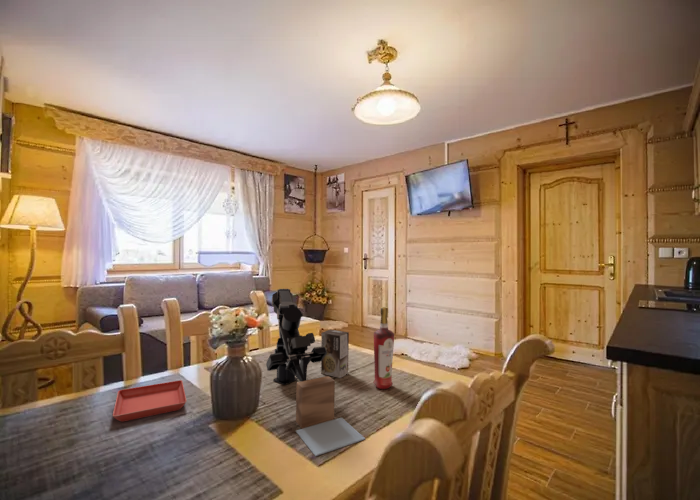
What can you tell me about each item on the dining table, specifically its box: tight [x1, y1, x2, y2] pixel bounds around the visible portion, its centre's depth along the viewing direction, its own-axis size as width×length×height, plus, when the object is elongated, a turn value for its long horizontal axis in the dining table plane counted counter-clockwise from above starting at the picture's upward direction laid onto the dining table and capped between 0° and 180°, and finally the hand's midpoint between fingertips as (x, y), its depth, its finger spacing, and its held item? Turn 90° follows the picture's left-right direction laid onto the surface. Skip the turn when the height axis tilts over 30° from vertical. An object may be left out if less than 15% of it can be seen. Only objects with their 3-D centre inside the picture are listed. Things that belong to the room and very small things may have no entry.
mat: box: [295, 417, 366, 457], centre depth 86 cm, size 12×14×1 cm
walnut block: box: [295, 375, 336, 429], centre depth 94 cm, size 4×10×11 cm, turn 122°
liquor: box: [372, 306, 395, 390], centre depth 117 cm, size 7×7×28 cm
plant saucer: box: [112, 379, 187, 423], centre depth 101 cm, size 18×18×3 cm
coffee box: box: [320, 329, 350, 379], centre depth 129 cm, size 9×6×16 cm
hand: (304, 383), depth 100 cm, fingers closed
